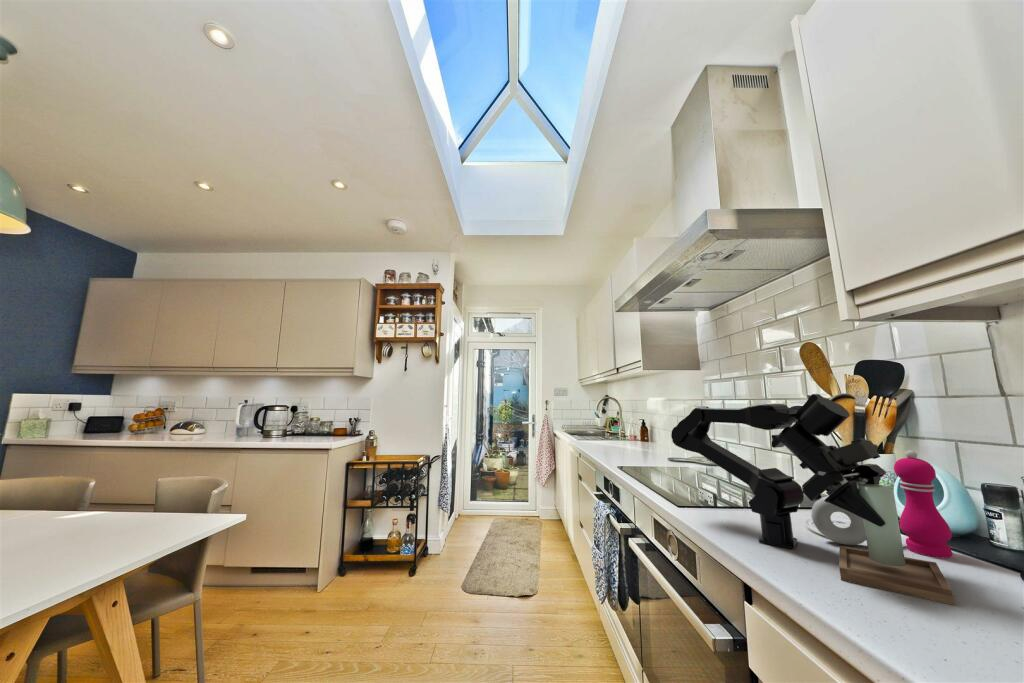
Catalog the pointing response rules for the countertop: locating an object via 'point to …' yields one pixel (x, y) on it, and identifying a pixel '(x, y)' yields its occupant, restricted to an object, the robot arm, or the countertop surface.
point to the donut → (831, 531)
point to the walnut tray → (895, 575)
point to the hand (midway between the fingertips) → (890, 523)
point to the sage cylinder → (888, 537)
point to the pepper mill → (921, 509)
